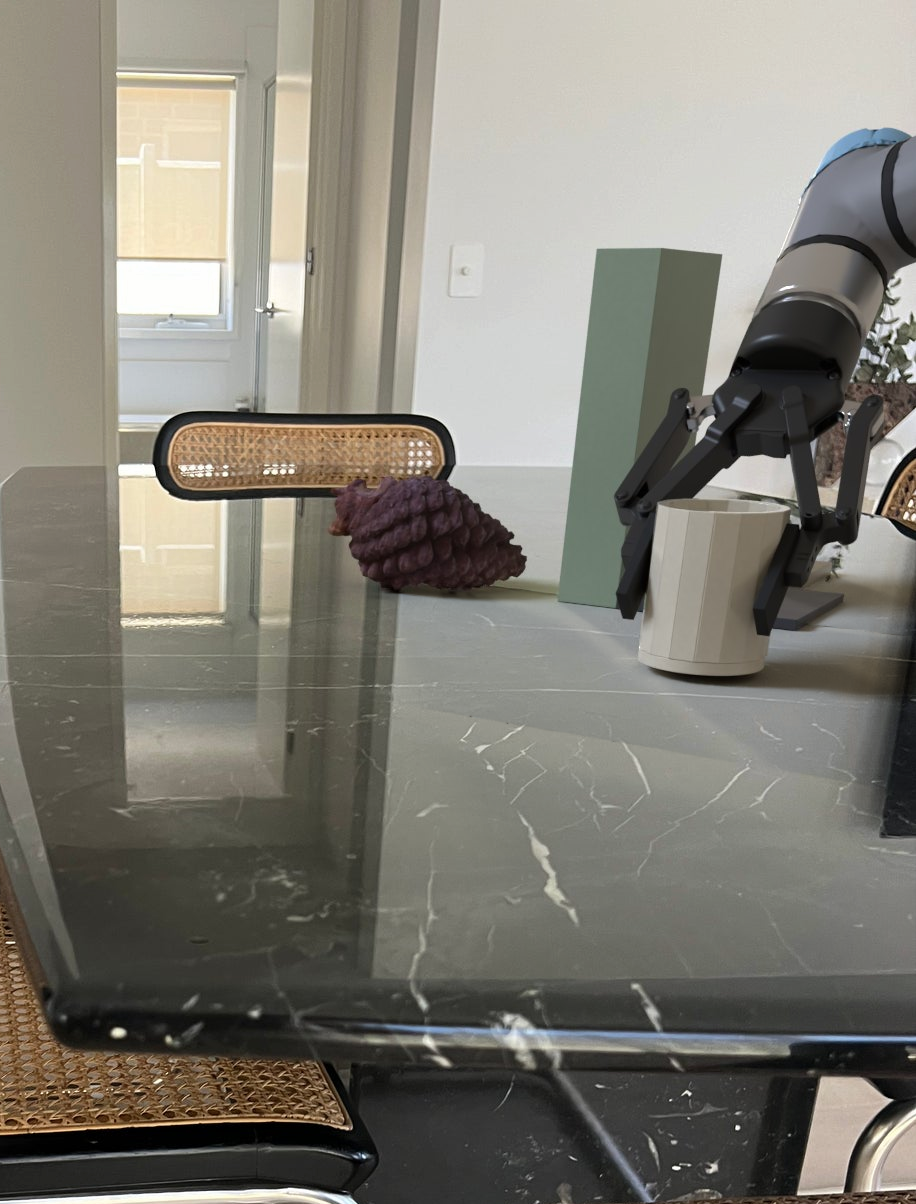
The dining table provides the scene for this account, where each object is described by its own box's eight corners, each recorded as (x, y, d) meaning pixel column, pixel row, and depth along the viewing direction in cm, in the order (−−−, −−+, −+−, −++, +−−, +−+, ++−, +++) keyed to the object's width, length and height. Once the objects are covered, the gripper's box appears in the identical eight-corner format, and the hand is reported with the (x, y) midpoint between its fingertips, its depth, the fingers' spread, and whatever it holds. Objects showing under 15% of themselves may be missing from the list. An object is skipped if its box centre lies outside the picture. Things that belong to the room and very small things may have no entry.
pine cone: (519, 579, 129) (555, 487, 121) (493, 653, 123) (530, 562, 115) (329, 515, 130) (353, 420, 122) (296, 585, 125) (319, 491, 117)
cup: (779, 660, 98) (805, 504, 94) (742, 681, 92) (769, 516, 88) (661, 644, 102) (682, 495, 98) (619, 664, 96) (639, 506, 92)
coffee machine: (842, 603, 120) (909, 252, 109) (795, 630, 110) (864, 245, 99) (620, 578, 130) (661, 254, 120) (557, 601, 120) (596, 248, 109)
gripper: (973, 383, 96) (866, 670, 90) (661, 374, 107) (549, 630, 101) (976, 293, 90) (861, 595, 84) (645, 293, 101) (525, 561, 95)
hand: (691, 614), depth 93 cm, fingers closed on cup, 8 cm apart
